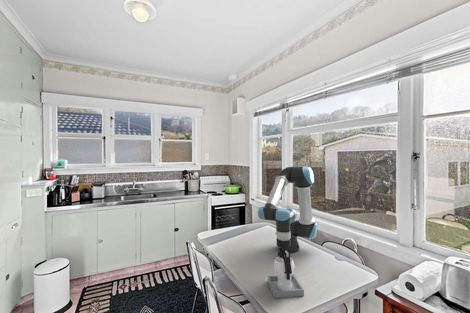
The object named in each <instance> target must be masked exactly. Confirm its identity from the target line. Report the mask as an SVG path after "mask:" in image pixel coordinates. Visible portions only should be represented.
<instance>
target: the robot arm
mask: <svg viewBox="0 0 470 313" xmlns="http://www.w3.org/2000/svg"><path fill="white" fill-rule="evenodd" d="M314 183H315V176H314V171H313V169H312V168H311V167H310V166H287V167H285V168H283V169H282V170H280V171H279V172H278V173H277V175H276V176H275V179H274V184H273V186H272V189H271V191H270V193H269V196H268V198H267V200H266V202H265V205H264V206H260V207H259V208H258V209H257V216H258V219H260V220H263V221H271V222H272V221H273V222H275V229H276V230H275V231H276V232H275V235H276V246H277V247H278V248H277V256H280V258H282V259H283V260H284V265H285V272H284V274H285V286H287V285H291V279H290V274H292V270H291V262H290V257H291V253H297V252H299V251H300V247H301V246H300V243H299V241H298V238H305V239H312V240H313V239H315V238H316V237H317V234H318V227H319V226H318V222H315V220H316V219H315V218H314V217H313V209H312V200H311V187H312V186H313V184H314ZM288 184H294V187H295V188H296V189H297V199H298V200H297V201H298V207H299V208H298V210H299V218H298V219H297V212H296V210H295V209H294V208H291V207H288V208H278V207H279V203H280V201H281V198H282V197H283V193H284V192H285V188H286V187H287V186H288Z"/></svg>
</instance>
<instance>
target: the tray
mask: <svg viewBox="0 0 470 313" xmlns="http://www.w3.org/2000/svg"><path fill="white" fill-rule="evenodd" d="M291 283H292V289H291V290H280V289H279V288H278V275H277V274H276V275H267V284H268V286H269V288H270V291H271V293H272V296H273V298H274V299H281V298H291V297H304V296H305V290H304V288H303V286H302V285H301V283H300V282H299V279H297V276H296V275H295V274H294V273H293V275H292V277H291Z"/></svg>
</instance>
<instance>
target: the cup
mask: <svg viewBox="0 0 470 313" xmlns="http://www.w3.org/2000/svg"><path fill="white" fill-rule="evenodd" d="M290 262H291V270H292V274H290V279H291V277H292V275H293V274H294V272H295V263H294V259H293V257H291V256H290ZM273 264H274V265H273V266H274V271H275V273H276V275H278V288H279V289H280V290H291V289H292V283H291V285H287V286H285V274H284V272H285V265H284V260H283V259H282V258H280V256H278V255H277V256H275V258H274V262H273Z"/></svg>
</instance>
